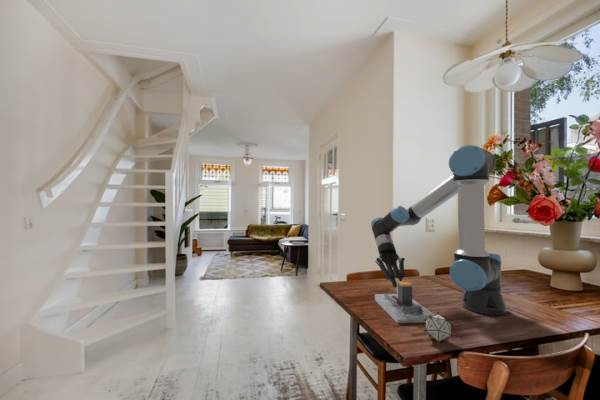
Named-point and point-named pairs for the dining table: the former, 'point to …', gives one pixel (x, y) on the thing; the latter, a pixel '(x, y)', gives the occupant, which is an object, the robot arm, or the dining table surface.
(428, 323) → the game die
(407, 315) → the fader console
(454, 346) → the dining table surface
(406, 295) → the fader knob
